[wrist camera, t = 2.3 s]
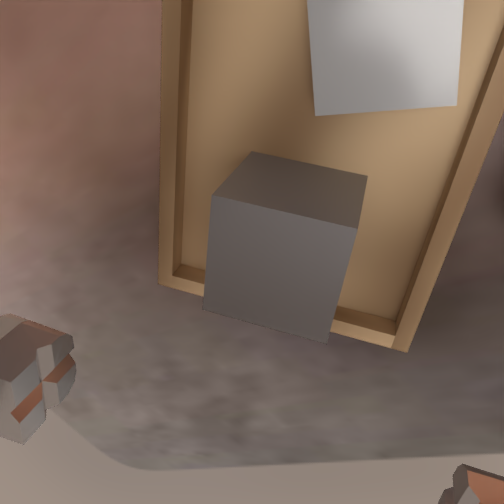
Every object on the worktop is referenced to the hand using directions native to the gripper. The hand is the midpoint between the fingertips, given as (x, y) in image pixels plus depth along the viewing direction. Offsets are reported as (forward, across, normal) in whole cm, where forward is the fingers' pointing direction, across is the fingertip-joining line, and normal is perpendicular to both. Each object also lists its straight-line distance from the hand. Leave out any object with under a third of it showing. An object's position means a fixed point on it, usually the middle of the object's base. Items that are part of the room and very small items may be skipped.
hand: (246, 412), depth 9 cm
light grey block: (+9, -1, -6) cm, 11 cm away
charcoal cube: (+9, +1, 0) cm, 9 cm away
